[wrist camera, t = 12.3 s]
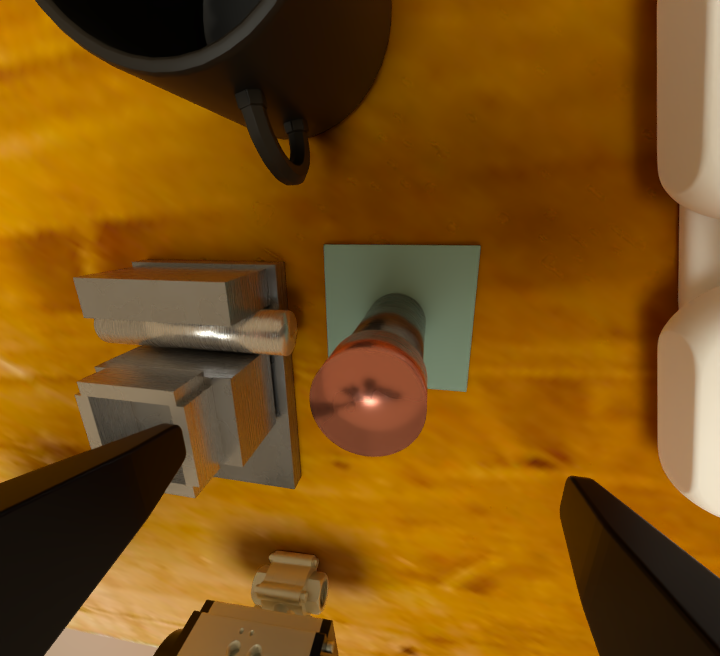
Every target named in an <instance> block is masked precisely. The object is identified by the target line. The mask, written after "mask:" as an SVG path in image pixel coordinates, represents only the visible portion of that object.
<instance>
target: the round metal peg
mask: <svg viewBox="0 0 720 656" xmlns="http://www.w3.org/2000/svg"><path fill="white" fill-rule="evenodd" d="M425 327H426V318H425V314H424V311H423V309H422V307H421V306H420V304H419V303H418V302H417V301H416V300H415V299H413V298H412V297H410V296H408V295H405V294H401V293H391V294H387V295H384V296H382V297H380V298H379V299H377V300H376V301H375V302H374V303H373V305H372V306H371V308H370V309H369V310H368V312H367V313H366V315H365V316H364V318H363V319H362V321H361V322H360V323H359V325H358V326H357V328H356V329H355V331H354V332H353V334H352V335H350V336H348V337H347V338H345V339H344V340H343V341H342V342H340V344H339V345H338V346H337V347H336V348H335V350H334V351H333V352H332V354H331V355H330V356H329V358H328V359H327V360H326V362H325V363H324V364H323V366H322V367H321V368H320V370H319V371H318V373H317V374H316V376H315V378H314V380H313V382H312V385H311V389H310V407H311V411H312V414H313V417H314V419H315V421H316V423H317V425H318V427H319V428H320V429H321V431H322V432H323V433H324V434H325V435H326V436H327V437H328V438H329V439H330V440H331V441H332V442H333V443H335V444H336V445H338V446H339V447H341V448H343V449H345V450H347V451H349V452H352V453H355V454H359V455H364V456H385V455H390V454H393V453H396V452H398V451H401V450H402V449H404V448H406V447H407V446H409V445H410V444H411V443H412V442H413V441H414V440H415V439H416V438H417V437H418V435H419V434H420V432H421V430H422V428H423V426H424V423H425V419H426V412H427V383H428V378H427V370H426V366H425V363H424V361H423V356H424V341H425Z"/></svg>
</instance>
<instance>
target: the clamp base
mask: <svg viewBox="0 0 720 656" xmlns="http://www.w3.org/2000/svg"><path fill="white" fill-rule="evenodd" d="M132 265H133V267H130V268H124V269H118V270H113V271H107V272H102V273H96V274H90V275H85V276H79V277H74V278H73V279H74V283H75V287H76V290H77V294H78V297H79V301H80V305H81V308H82V312H83V316H84V318H95V319H94V327H95V331H96V333H97V335H98V336H99V337H100V338H101V339H102V340H103V341H105V342H108V343H119V344H133V345H146V346H159V347H173V348H186V349H200V350H213V351H226V352H240V353H253V354H267V355H269V356H270V366H271V376H272V385H273V395H274V405H275V415H276V424H275V425H274V427H273V428H272V429H271V431H270V432H269V433H268V435H267V436H266V437H265V439H264V440H263V441H262V443H261V444H260V445H259V446H258V448H257V449H256V450H255V452H254V453H253V454H252V456H251V457H250V458H249V460H248V461H247V462H246V464H245V465H244V466H243V467H238V466H231V465H224V464H219V466H220V469H219V470H218V471H217V473H216V474H215V475H214V476H213V477H219V478H225V479H232V480H238V481H245V482H251V483H258V484H264V485H271V486H277V487H284V488H290V489H295V488H296V486H297V484H298V482H299V480H300V478H301V468H300V455H299V443H298V430H297V418H296V405H295V392H294V380H293V367H292V354H291V353H292V351H293V349H294V347H295V344H296V339H297V322H296V318H295V315H294V313H293V312H292V311H288V304H287V291H286V278H285V266H284V262H261V261H206V260H151V259H147V260H141V261H135V262H132Z"/></svg>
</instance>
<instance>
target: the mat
mask: <svg viewBox="0 0 720 656" xmlns="http://www.w3.org/2000/svg"><path fill="white" fill-rule="evenodd" d="M480 248H481V246H480V245H374V244H325V245H324V267H325V290H326V314H327V337H328V358H329V356H330V355H331V354H332V352H333V351H334V350H335V348H336V347H337V346H338V345H339V344H340V342H342V341H343V340H344V339H345V338H347V337H348V336H350V335H352V334H353V332H354V331H355V329H356V328H357V326H358V325H359V323H360V322H361V321H362V319H363V318H364V316H365V315H366V313H367V312H368V310H369V309H370V308H371V306H372V305H373V303H374V302H375V301H376V300H377V299H379V298H380V297H382V296H384V295H387V294H391V293H401V294H405V295H408V296H410V297H412V298H413V299H415V300H416V301H417V302H418V303H419V304H420V306H421V307H422V309H423V311H424V314H425V318H426V327H425V341H424V356H423V361H424V363H425V366H426V370H427V378H428V383H427V388H428V389H440V390H451V391H463V392H466V390H467V380H468V369H469V359H470V349H471V339H472V329H473V319H474V309H475V299H476V289H477V279H478V269H479V259H480Z"/></svg>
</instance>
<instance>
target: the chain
mask: <svg viewBox="0 0 720 656" xmlns="http://www.w3.org/2000/svg"><path fill="white" fill-rule="evenodd" d="M657 166H658V175H659V179H660V182H661V184H662V186H663V188H664V189H665V191H666V192H667V193H668V194H669V196H670V197H671V198H672V199H673V200H675V201H676V202H677V203H679V269H678V307H679V310H678V311H677V312H676V313H675V314H674V315H673V316H672V317H671V318H670V319H669V321H668V322H667V323H666V325H665V326H664V328H663V329H662V331H661V333H660V336H659V339H658V348H657V441H658V454H659V459H660V462H661V465H662V467H663V470H664V472H665V473H666V475H667V477H668V478H669V480H670V481H671V482H672V484H673V485H674V486H675V487H676V488H677V489H678V490H679V491H680V492H681V493H682V494H683V495H684V496H685V497H687V498H688V499H689V500H690V501H692V502H693V503H695V504H696V505H698V506H699V507H701V508H702V509H704V510H706V511H708V512H709V513H711V514H714V515H716V516H718V517H720V0H657Z"/></svg>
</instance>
